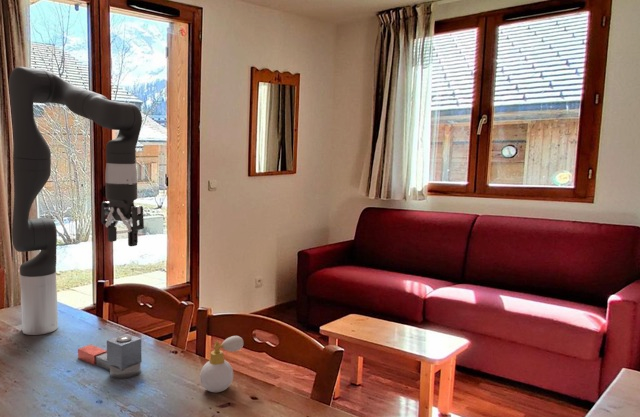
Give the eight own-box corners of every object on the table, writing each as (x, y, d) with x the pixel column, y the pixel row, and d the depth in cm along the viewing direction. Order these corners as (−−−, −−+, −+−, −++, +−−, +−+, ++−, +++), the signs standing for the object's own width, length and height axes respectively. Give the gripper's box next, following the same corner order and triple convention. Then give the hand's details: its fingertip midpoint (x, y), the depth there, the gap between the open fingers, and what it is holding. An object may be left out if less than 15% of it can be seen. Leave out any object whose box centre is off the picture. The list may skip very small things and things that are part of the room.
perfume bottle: (193, 390, 116) (193, 340, 115) (224, 376, 124) (224, 328, 123) (216, 400, 112) (216, 348, 111) (246, 384, 120) (247, 335, 119)
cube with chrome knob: (107, 364, 123) (106, 338, 123) (127, 356, 128) (126, 332, 127) (121, 370, 120) (121, 344, 120) (141, 362, 125) (141, 337, 124)
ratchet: (71, 360, 131) (71, 339, 130) (96, 351, 136) (96, 331, 136) (122, 382, 120) (121, 359, 119) (146, 371, 125) (146, 350, 125)
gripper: (91, 179, 131) (92, 242, 133) (126, 183, 123) (127, 249, 125) (117, 178, 137) (118, 238, 139) (151, 182, 129) (152, 245, 131)
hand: (122, 243), depth 132 cm, fingers open, 8 cm apart
